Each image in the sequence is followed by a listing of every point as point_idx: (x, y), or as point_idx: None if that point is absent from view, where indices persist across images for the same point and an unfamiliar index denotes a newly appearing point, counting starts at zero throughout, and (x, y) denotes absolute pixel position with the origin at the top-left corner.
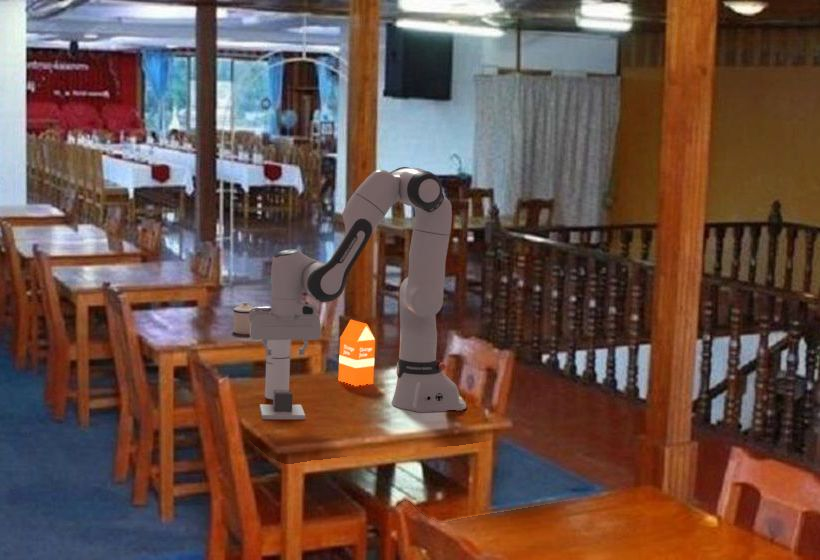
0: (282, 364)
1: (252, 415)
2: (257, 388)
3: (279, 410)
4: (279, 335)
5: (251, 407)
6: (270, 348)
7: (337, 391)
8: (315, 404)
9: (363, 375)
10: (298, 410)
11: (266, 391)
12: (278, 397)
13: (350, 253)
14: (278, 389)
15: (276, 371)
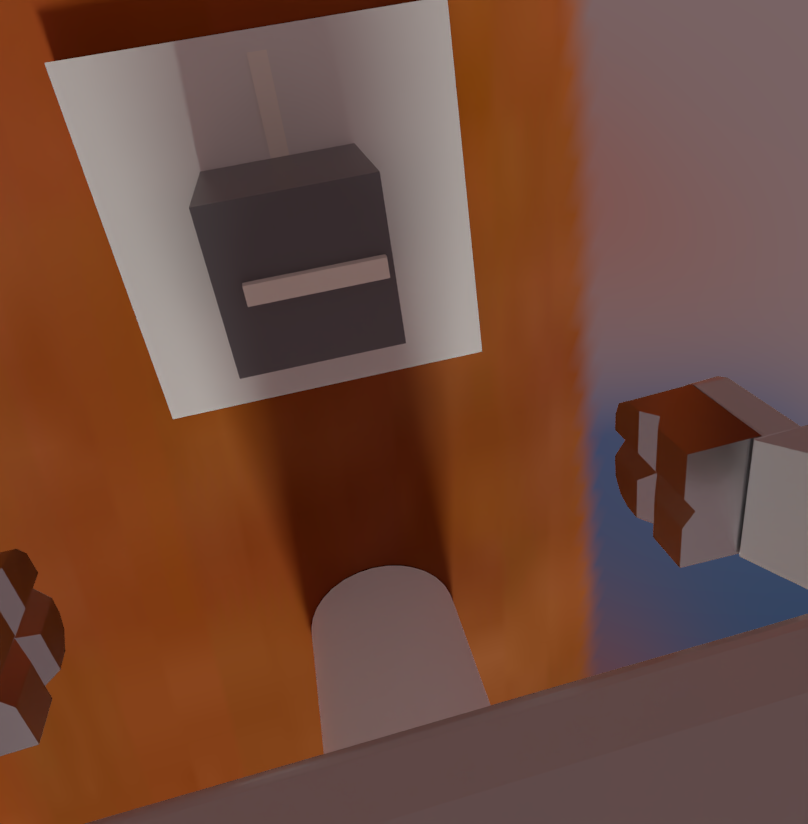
0: None
1: (521, 125)
2: None
3: (311, 153)
4: (776, 808)
5: (529, 355)
6: (694, 539)
7: (42, 815)
8: (97, 534)
9: None
10: (152, 234)
11: (454, 613)
12: (336, 170)
13: None
14: (379, 617)
15: (425, 722)
